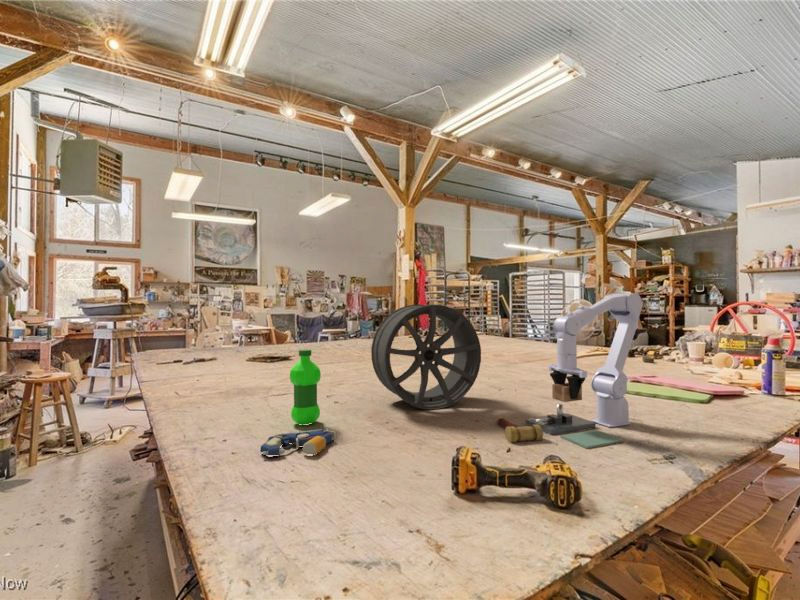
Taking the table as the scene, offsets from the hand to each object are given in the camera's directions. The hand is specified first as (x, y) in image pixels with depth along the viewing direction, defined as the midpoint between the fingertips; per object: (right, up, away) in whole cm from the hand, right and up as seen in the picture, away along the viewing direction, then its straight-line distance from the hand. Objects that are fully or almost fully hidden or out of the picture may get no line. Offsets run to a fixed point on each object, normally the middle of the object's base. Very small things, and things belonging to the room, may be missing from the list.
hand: (567, 396), depth 129 cm
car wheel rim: (-43, -11, +34) cm, 56 cm away
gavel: (-18, -11, -1) cm, 21 cm away
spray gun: (-82, -12, -15) cm, 84 cm away
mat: (+3, -10, -10) cm, 15 cm away
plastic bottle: (-85, -12, +9) cm, 87 cm away
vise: (-1, -10, +4) cm, 11 cm away
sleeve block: (0, -1, 0) cm, 1 cm away
